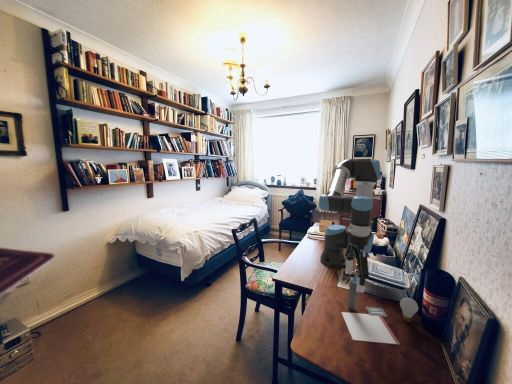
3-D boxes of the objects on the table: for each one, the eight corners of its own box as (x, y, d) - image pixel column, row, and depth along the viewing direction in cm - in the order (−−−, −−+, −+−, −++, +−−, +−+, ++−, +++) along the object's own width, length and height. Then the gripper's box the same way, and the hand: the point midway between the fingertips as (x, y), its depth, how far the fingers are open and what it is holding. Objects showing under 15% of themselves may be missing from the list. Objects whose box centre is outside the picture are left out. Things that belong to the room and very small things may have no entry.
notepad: (341, 312, 91) (341, 311, 91) (380, 315, 89) (380, 315, 89) (352, 340, 77) (353, 339, 77) (399, 344, 76) (400, 343, 76)
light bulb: (398, 313, 91) (401, 292, 89) (416, 320, 87) (419, 298, 85) (397, 321, 86) (400, 299, 85) (415, 329, 83) (418, 306, 81)
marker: (346, 305, 95) (348, 276, 93) (353, 306, 95) (356, 277, 93) (348, 310, 92) (351, 280, 90) (356, 311, 92) (359, 281, 89)
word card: (365, 307, 94) (365, 306, 94) (381, 308, 94) (382, 307, 94) (370, 315, 89) (370, 314, 89) (387, 317, 89) (387, 316, 89)
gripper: (340, 224, 100) (336, 267, 104) (361, 245, 76) (355, 300, 79) (357, 225, 100) (352, 268, 103) (383, 246, 75) (376, 301, 78)
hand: (353, 282), depth 91 cm, fingers open, 13 cm apart
